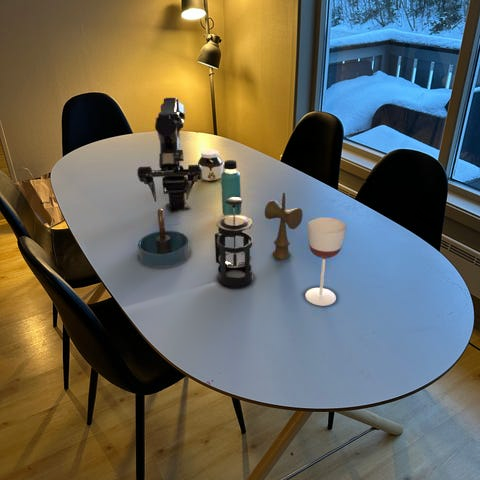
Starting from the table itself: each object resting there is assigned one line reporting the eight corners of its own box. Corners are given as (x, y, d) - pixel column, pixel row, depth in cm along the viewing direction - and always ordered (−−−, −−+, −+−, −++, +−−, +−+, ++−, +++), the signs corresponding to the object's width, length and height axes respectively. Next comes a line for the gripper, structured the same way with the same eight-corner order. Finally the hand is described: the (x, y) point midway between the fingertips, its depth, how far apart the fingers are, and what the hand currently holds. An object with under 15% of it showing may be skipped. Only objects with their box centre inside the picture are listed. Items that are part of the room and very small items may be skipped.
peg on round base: (155, 251, 131) (151, 207, 124) (168, 248, 132) (164, 205, 126) (159, 257, 127) (155, 213, 121) (173, 254, 129) (169, 210, 122)
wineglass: (300, 288, 115) (304, 218, 105) (333, 286, 115) (340, 216, 106) (306, 307, 107) (312, 234, 98) (342, 305, 108) (350, 232, 99)
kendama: (288, 266, 124) (291, 200, 115) (262, 254, 130) (263, 191, 121) (301, 258, 128) (305, 194, 118) (275, 247, 133) (277, 184, 124)
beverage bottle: (239, 222, 149) (238, 165, 139) (219, 220, 150) (218, 163, 141) (243, 213, 154) (242, 158, 145) (224, 212, 155) (222, 157, 146)
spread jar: (196, 182, 181) (195, 154, 176) (203, 172, 191) (202, 146, 186) (225, 183, 179) (224, 156, 174) (230, 174, 189) (230, 147, 184)
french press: (262, 279, 118) (263, 199, 108) (238, 294, 112) (237, 212, 102) (230, 263, 125) (228, 187, 115) (205, 277, 119) (201, 198, 109)
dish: (131, 252, 131) (129, 239, 130) (174, 238, 139) (173, 226, 137) (152, 273, 121) (151, 260, 119) (198, 257, 128) (197, 244, 127)
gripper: (134, 140, 126) (134, 192, 122) (200, 138, 128) (202, 189, 124) (140, 157, 137) (140, 205, 133) (200, 154, 139) (203, 202, 134)
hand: (171, 200), depth 131 cm, fingers open, 9 cm apart
